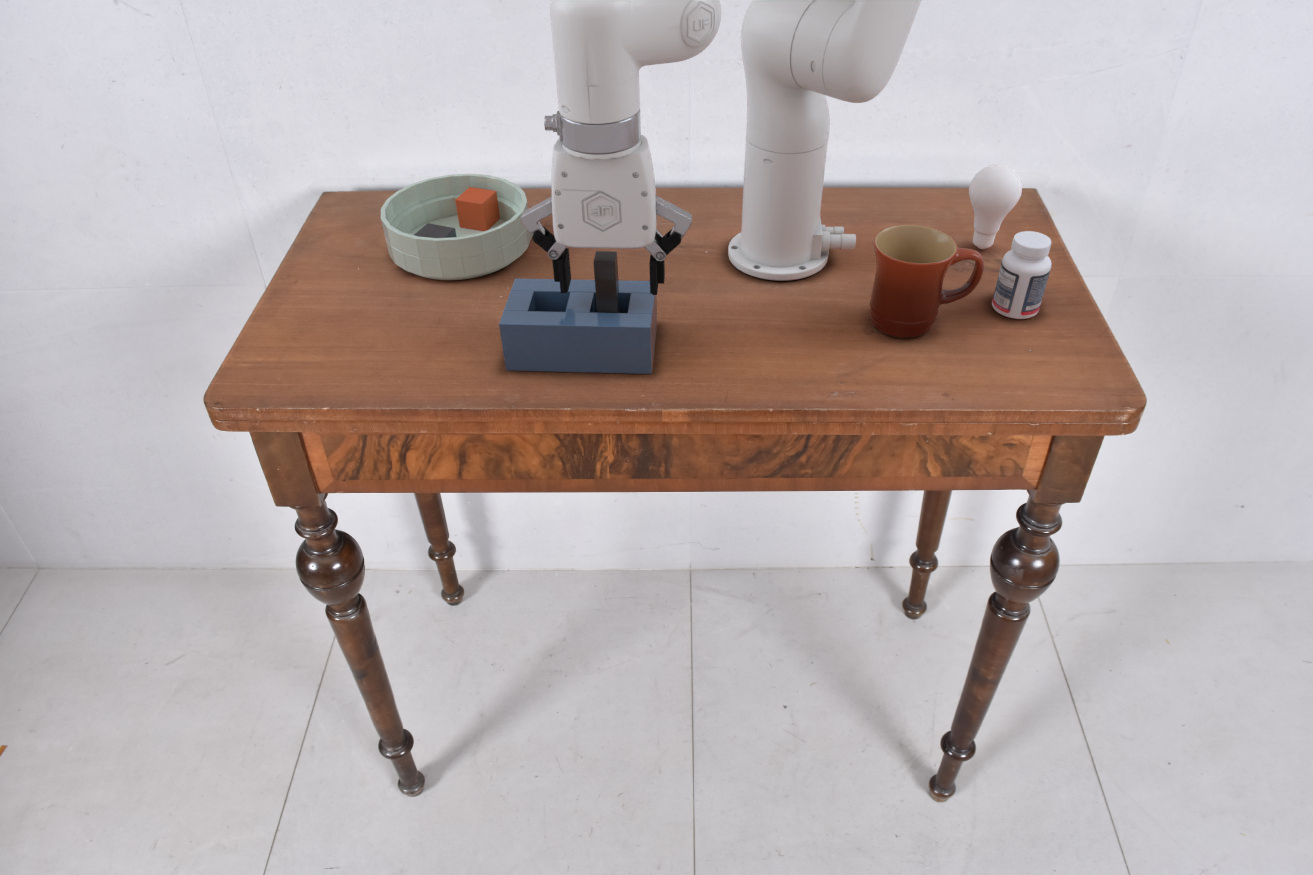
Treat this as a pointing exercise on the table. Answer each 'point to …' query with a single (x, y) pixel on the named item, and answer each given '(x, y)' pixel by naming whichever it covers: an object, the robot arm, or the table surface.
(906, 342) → the table surface
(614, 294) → the rectangular bar
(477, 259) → the bowl
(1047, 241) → the pill bottle
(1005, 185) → the lightbulb
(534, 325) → the holder
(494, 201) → the block
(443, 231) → the block
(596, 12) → the robot arm
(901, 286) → the mug
